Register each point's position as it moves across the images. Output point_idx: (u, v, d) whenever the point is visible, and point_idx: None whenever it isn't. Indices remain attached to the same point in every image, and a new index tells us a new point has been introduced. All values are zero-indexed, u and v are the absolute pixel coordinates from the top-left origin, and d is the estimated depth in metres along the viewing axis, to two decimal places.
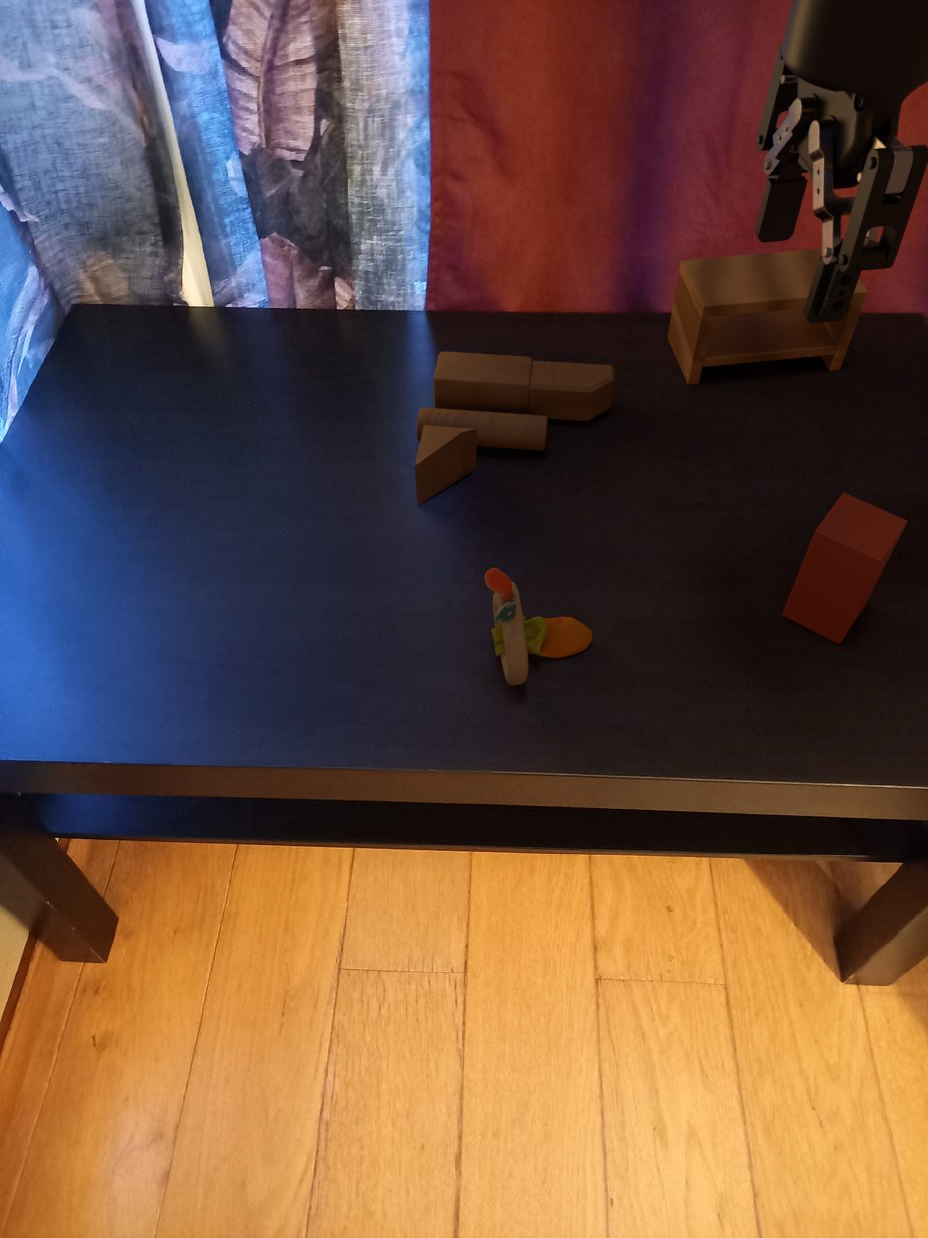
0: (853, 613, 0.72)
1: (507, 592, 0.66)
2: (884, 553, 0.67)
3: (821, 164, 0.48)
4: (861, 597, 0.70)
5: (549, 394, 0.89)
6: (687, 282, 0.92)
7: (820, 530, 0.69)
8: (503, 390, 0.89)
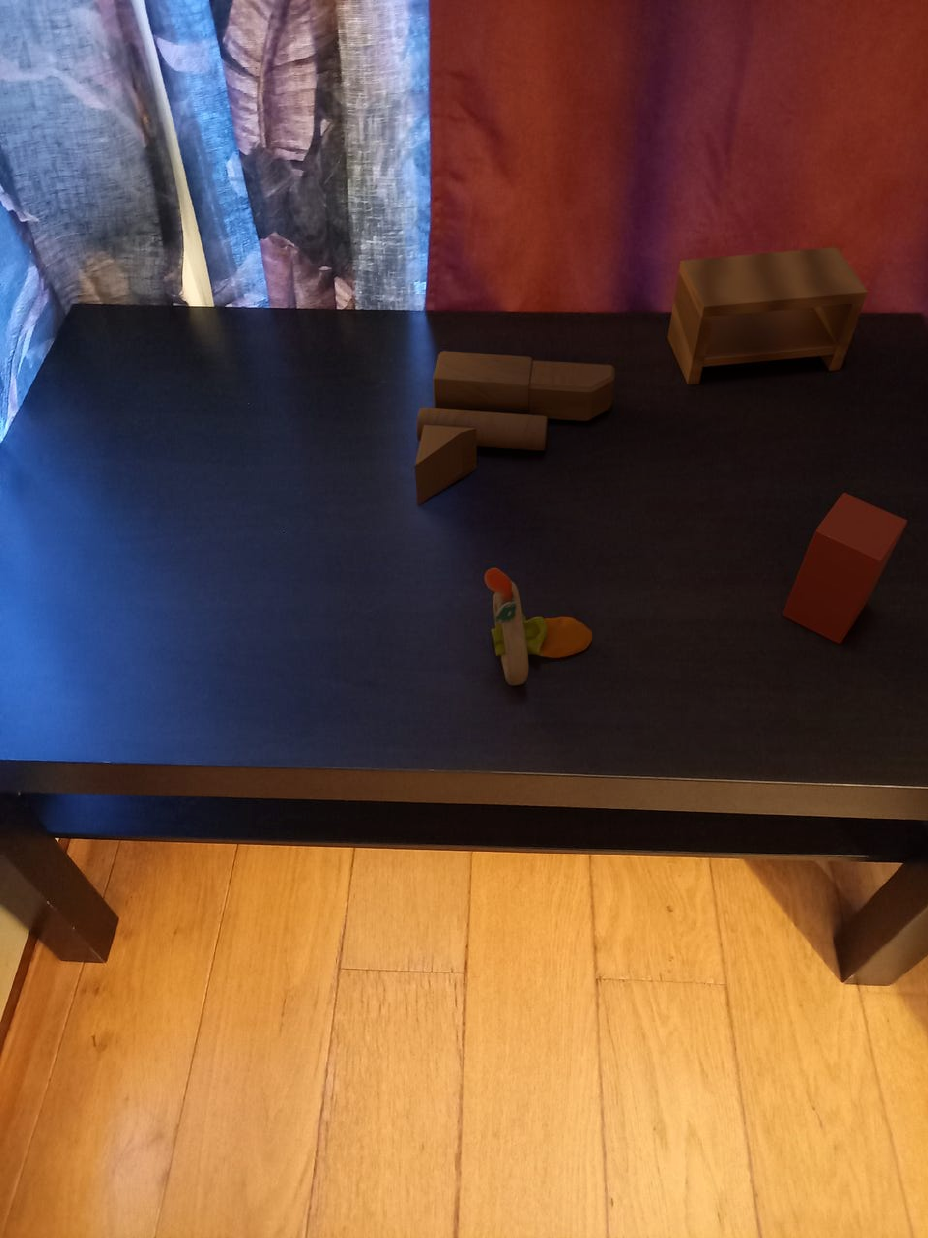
0: (853, 613, 0.72)
1: (507, 592, 0.66)
2: (884, 553, 0.67)
3: None
4: (861, 597, 0.70)
5: (549, 394, 0.89)
6: (687, 282, 0.92)
7: (820, 530, 0.69)
8: (503, 390, 0.89)
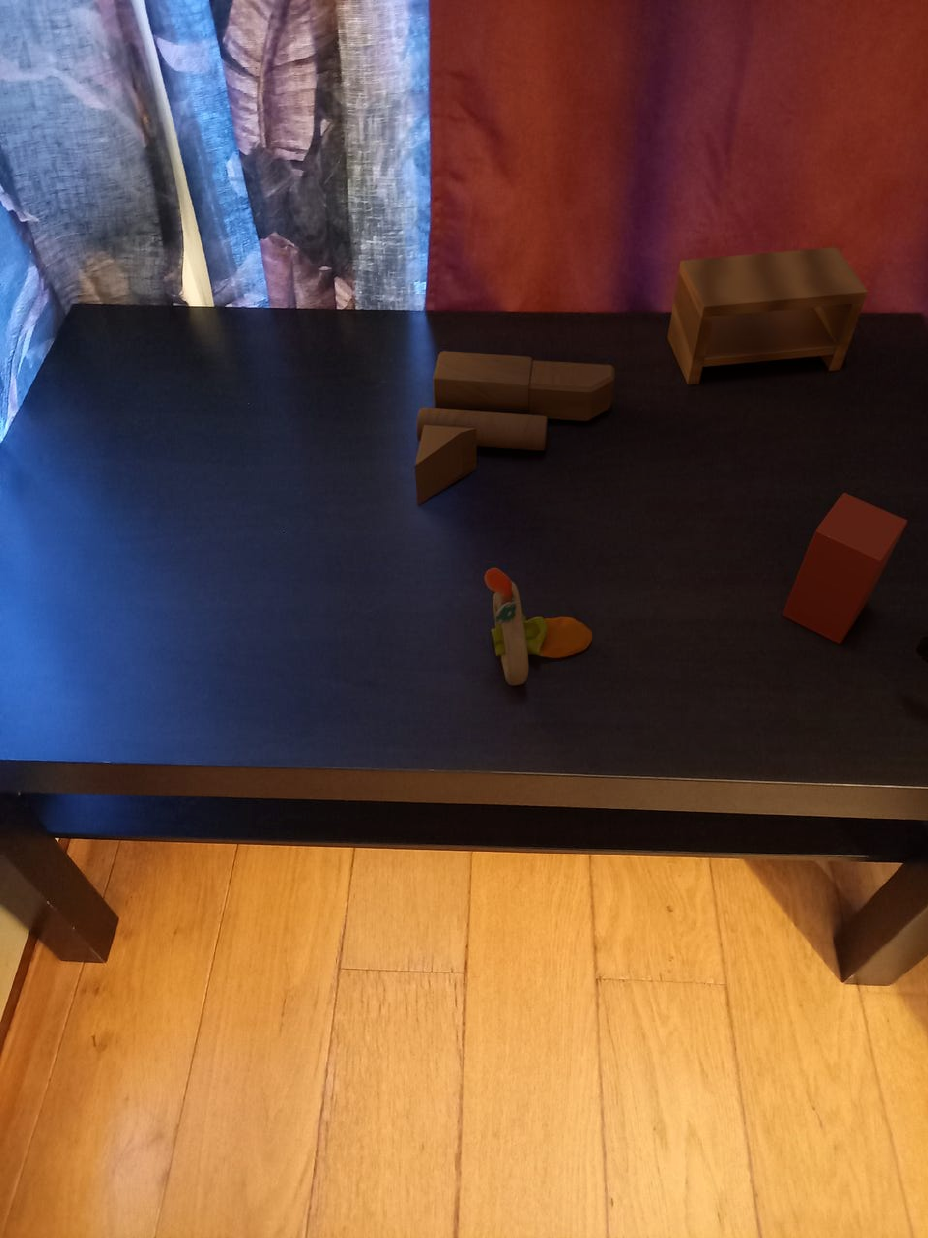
0: (853, 613, 0.72)
1: (507, 592, 0.66)
2: (884, 553, 0.67)
3: None
4: (861, 597, 0.70)
5: (549, 393, 0.89)
6: (687, 282, 0.92)
7: (820, 530, 0.69)
8: (503, 390, 0.89)
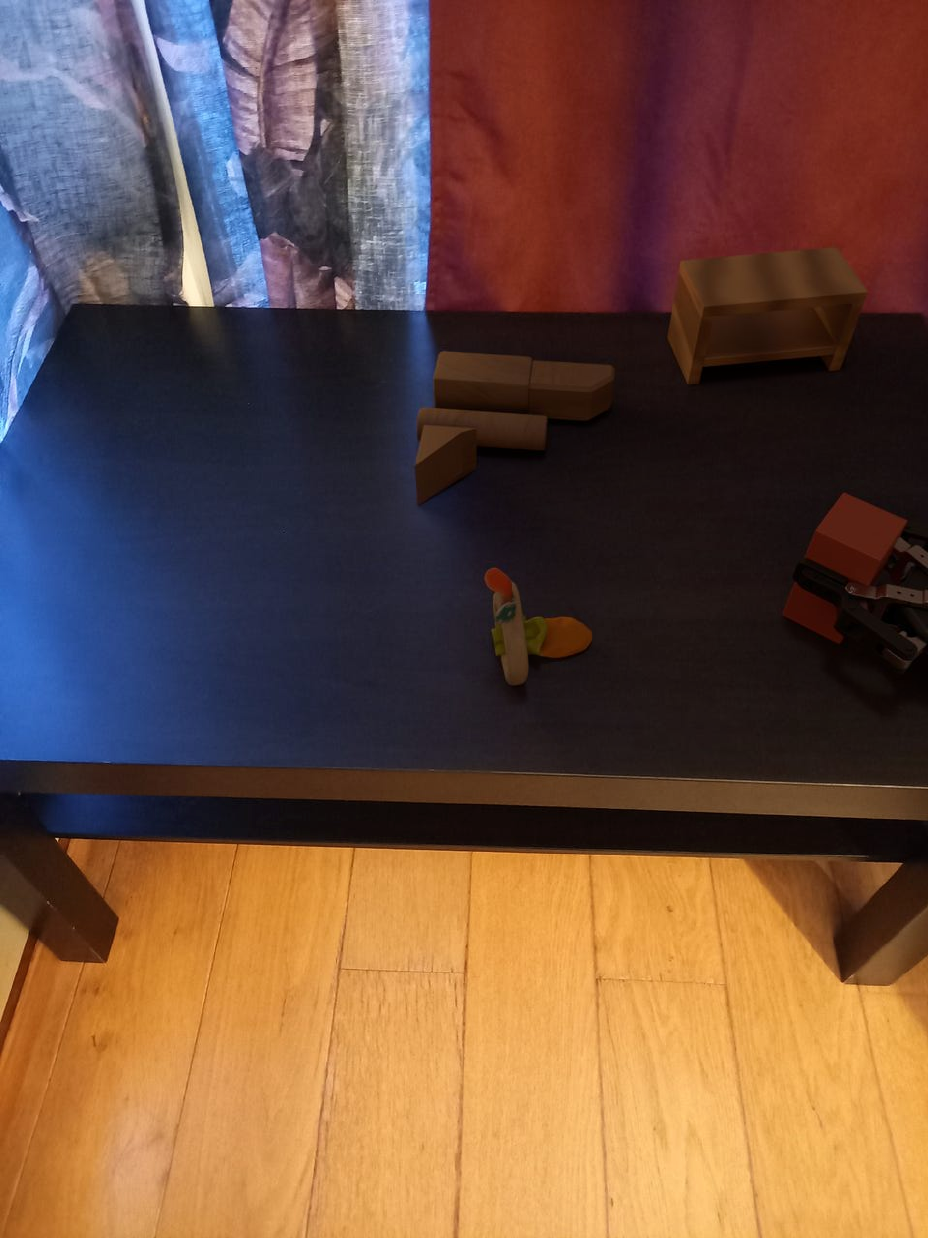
0: None
1: (507, 592, 0.66)
2: (884, 553, 0.67)
3: None
4: None
5: (549, 393, 0.89)
6: (687, 282, 0.92)
7: (820, 530, 0.69)
8: (503, 390, 0.89)
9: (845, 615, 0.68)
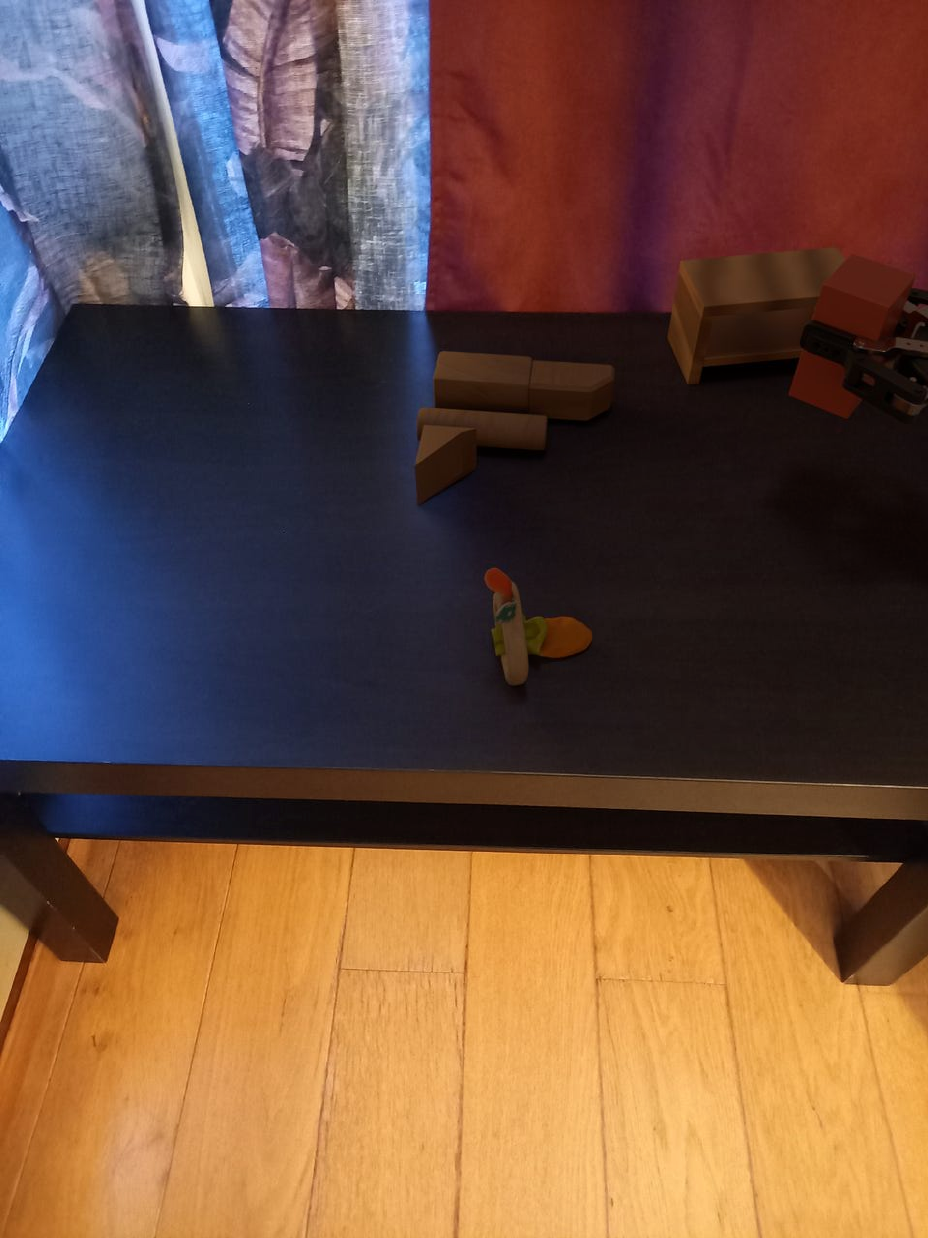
0: None
1: (507, 592, 0.66)
2: (893, 301, 0.66)
3: None
4: (869, 356, 0.69)
5: (549, 393, 0.89)
6: (687, 282, 0.92)
7: (828, 283, 0.68)
8: (503, 390, 0.89)
9: (854, 367, 0.67)
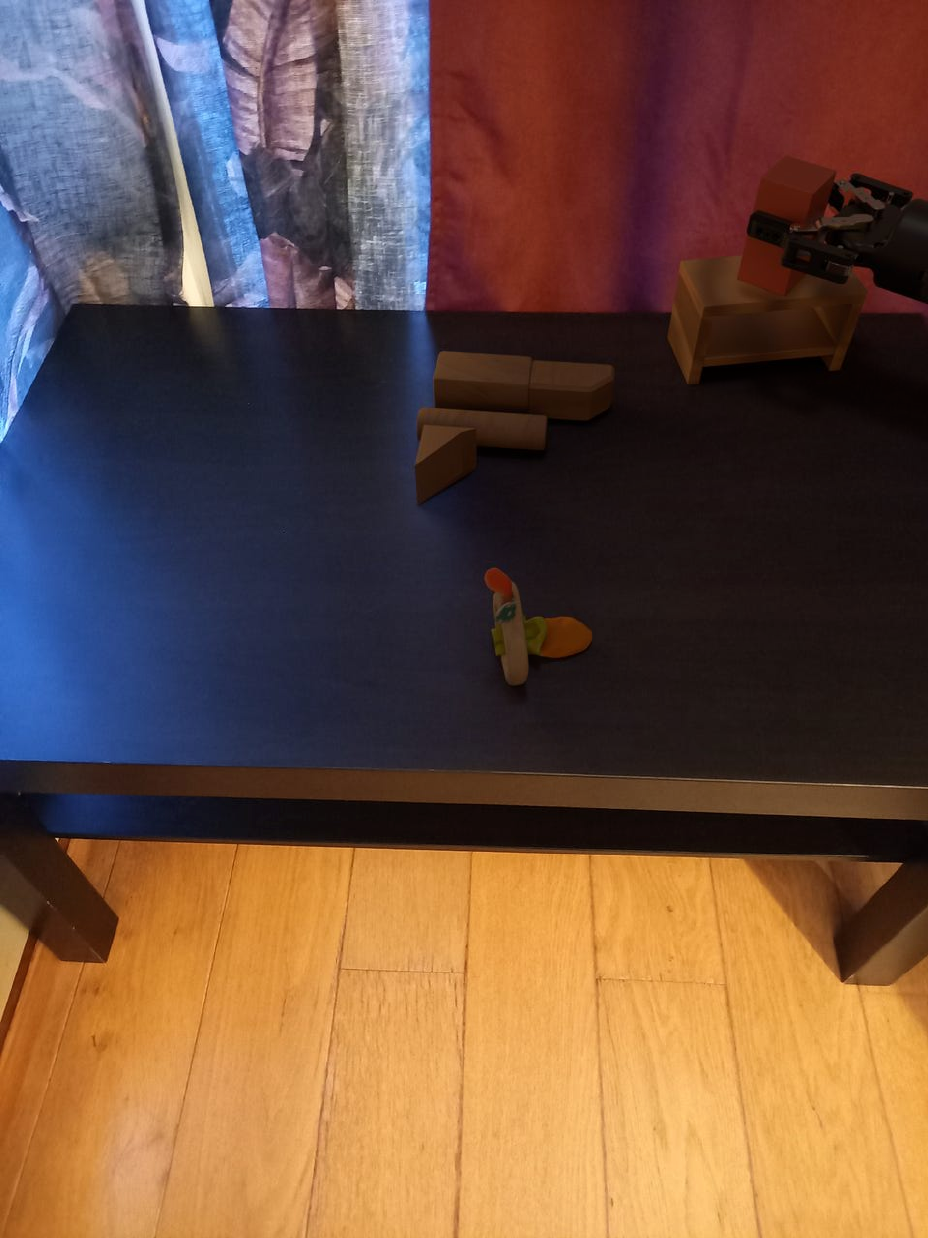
0: None
1: (507, 592, 0.66)
2: (816, 189, 0.81)
3: None
4: None
5: (549, 393, 0.89)
6: (687, 282, 0.92)
7: (764, 176, 0.83)
8: (503, 390, 0.89)
9: (790, 246, 0.81)
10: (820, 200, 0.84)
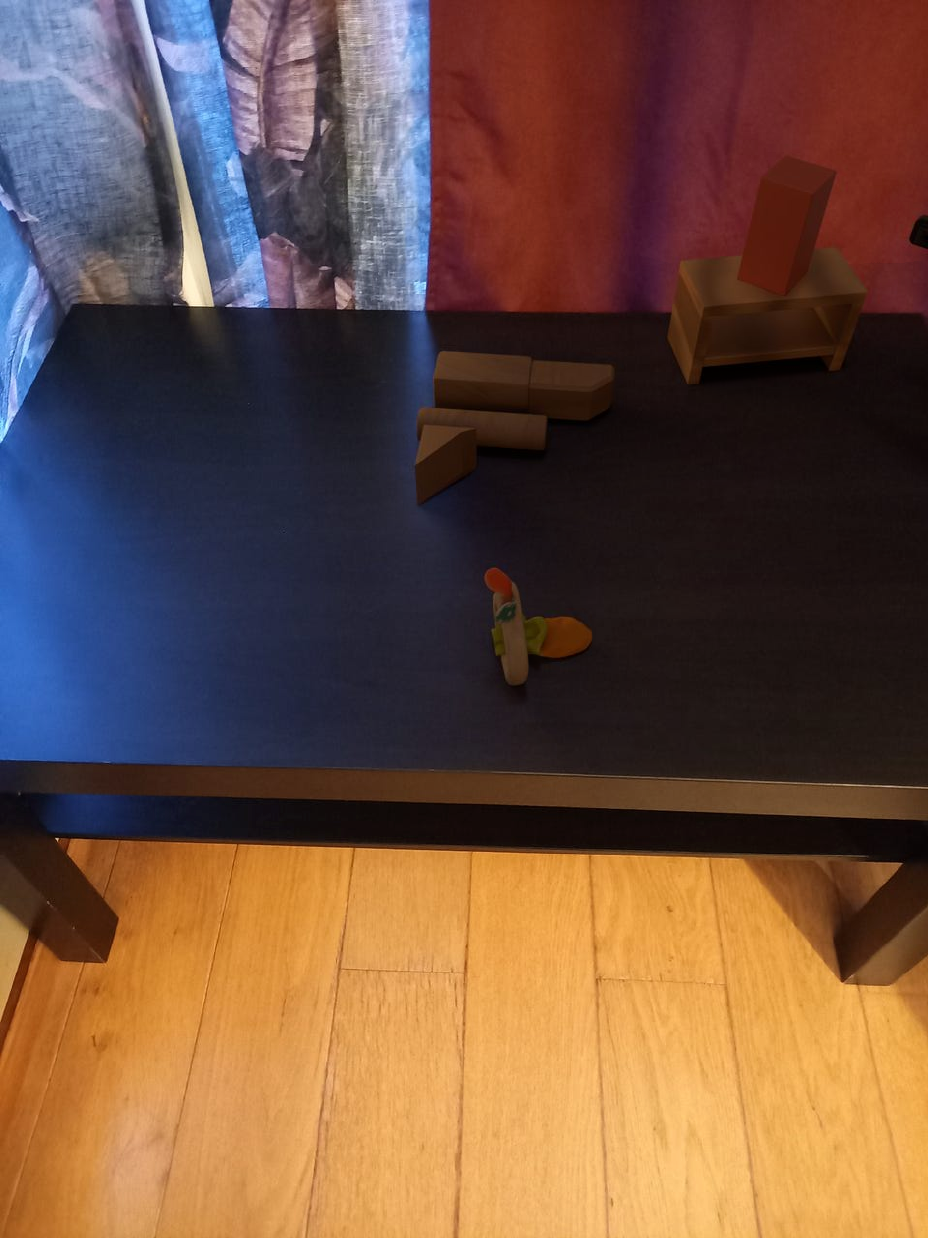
0: (794, 257, 0.86)
1: (507, 592, 0.66)
2: (816, 189, 0.81)
3: None
4: (799, 238, 0.84)
5: (549, 393, 0.89)
6: (687, 282, 0.92)
7: (764, 176, 0.83)
8: (503, 389, 0.89)
9: None
10: (820, 200, 0.84)
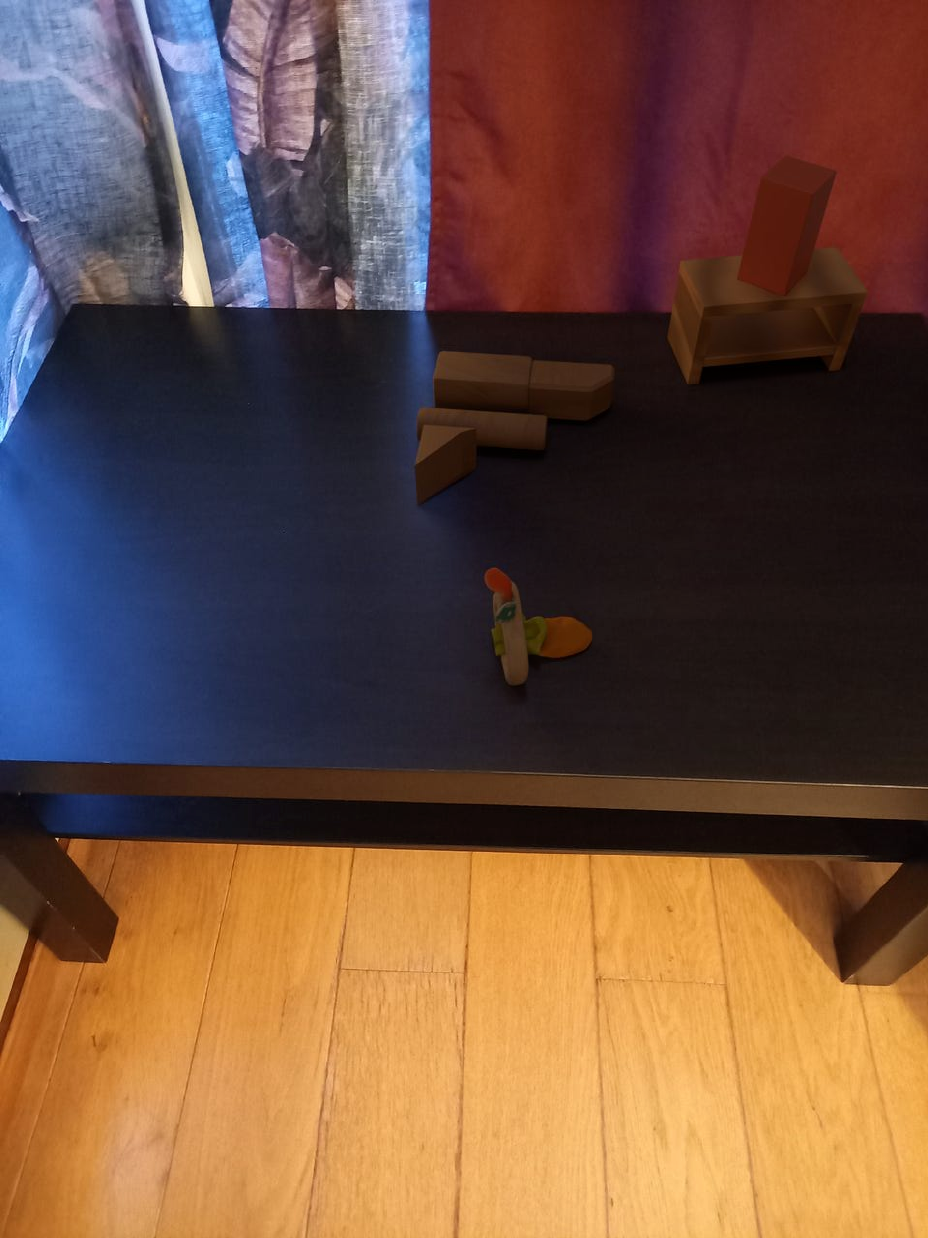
0: (794, 257, 0.86)
1: (507, 592, 0.66)
2: (816, 189, 0.81)
3: None
4: (799, 238, 0.84)
5: (549, 393, 0.89)
6: (687, 282, 0.92)
7: (764, 176, 0.83)
8: (503, 390, 0.89)
9: None
10: (820, 200, 0.84)
